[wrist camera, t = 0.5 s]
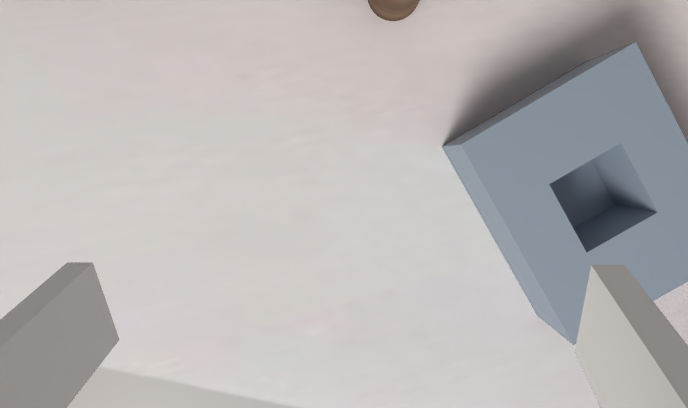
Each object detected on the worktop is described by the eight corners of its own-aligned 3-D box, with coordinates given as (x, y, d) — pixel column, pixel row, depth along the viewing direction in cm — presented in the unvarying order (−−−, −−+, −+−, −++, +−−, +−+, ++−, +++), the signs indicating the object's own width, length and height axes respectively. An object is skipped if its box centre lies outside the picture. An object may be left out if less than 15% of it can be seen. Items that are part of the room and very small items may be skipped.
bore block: (441, 146, 37) (460, 144, 31) (587, 60, 36) (635, 41, 30) (537, 315, 38) (573, 345, 32) (679, 235, 38) (742, 250, 32)
